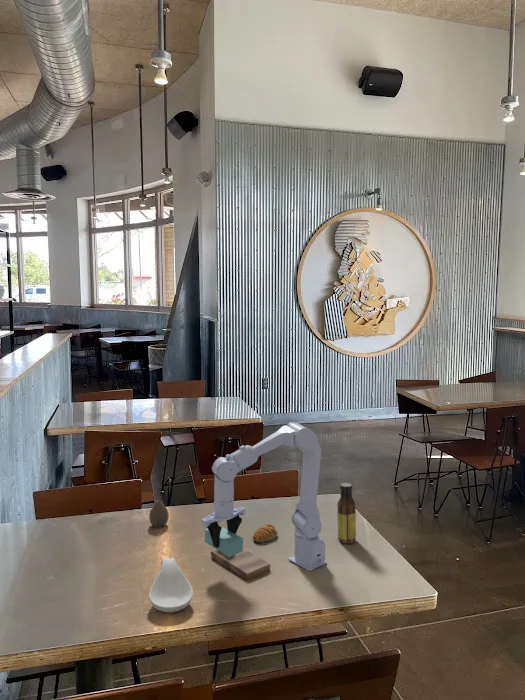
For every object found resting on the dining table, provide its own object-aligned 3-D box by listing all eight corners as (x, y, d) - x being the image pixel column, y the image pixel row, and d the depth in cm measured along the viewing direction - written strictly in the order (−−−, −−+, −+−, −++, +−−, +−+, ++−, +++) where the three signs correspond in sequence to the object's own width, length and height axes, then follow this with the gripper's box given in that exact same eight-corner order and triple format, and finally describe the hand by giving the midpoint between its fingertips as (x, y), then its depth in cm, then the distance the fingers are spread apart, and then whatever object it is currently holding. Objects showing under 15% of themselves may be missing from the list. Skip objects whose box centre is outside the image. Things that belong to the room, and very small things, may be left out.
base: (270, 570, 159) (270, 550, 158) (247, 580, 153) (247, 559, 153) (233, 548, 173) (233, 530, 172) (211, 557, 167) (211, 538, 166)
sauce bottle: (355, 537, 182) (356, 481, 181) (356, 545, 176) (358, 488, 174) (336, 536, 183) (337, 480, 181) (337, 544, 177) (338, 487, 175)
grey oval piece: (145, 527, 188) (145, 504, 187) (155, 520, 195) (154, 497, 194) (163, 530, 186) (162, 506, 185) (171, 522, 193) (171, 499, 192)
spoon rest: (195, 616, 136) (195, 590, 135) (149, 622, 133) (149, 595, 132) (186, 571, 159) (186, 548, 158) (146, 575, 156) (146, 552, 155)
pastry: (264, 546, 175) (264, 535, 175) (247, 541, 179) (247, 530, 179) (278, 536, 183) (279, 525, 183) (262, 531, 187) (262, 521, 186)
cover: (242, 551, 152) (242, 538, 152) (229, 556, 149) (229, 543, 148) (218, 537, 161) (218, 524, 161) (204, 542, 158) (205, 529, 157)
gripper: (235, 489, 161) (234, 532, 162) (195, 500, 152) (195, 545, 153) (249, 496, 156) (249, 540, 157) (209, 508, 146) (209, 554, 148)
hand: (223, 543), depth 155 cm, fingers closed on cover, 5 cm apart
